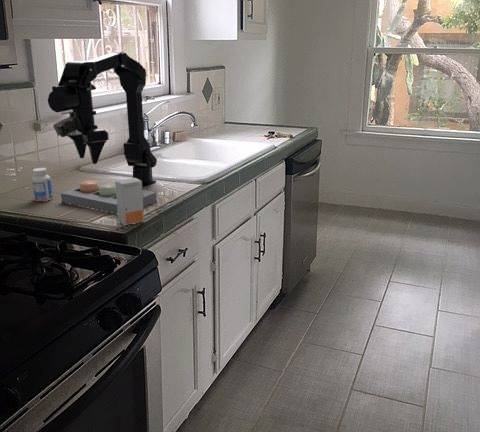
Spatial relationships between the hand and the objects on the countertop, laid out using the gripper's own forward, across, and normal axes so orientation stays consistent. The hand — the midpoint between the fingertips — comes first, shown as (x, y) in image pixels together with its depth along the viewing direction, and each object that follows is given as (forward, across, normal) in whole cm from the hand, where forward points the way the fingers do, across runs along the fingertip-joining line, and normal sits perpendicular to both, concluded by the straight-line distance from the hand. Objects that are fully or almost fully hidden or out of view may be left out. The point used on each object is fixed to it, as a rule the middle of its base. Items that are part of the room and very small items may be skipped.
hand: (88, 160), depth 157 cm
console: (+14, 0, +5) cm, 15 cm away
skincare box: (+14, +22, +2) cm, 26 cm away
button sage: (+12, 0, +5) cm, 13 cm away
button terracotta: (+12, -7, +2) cm, 14 cm away
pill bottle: (+14, -15, -10) cm, 23 cm away
